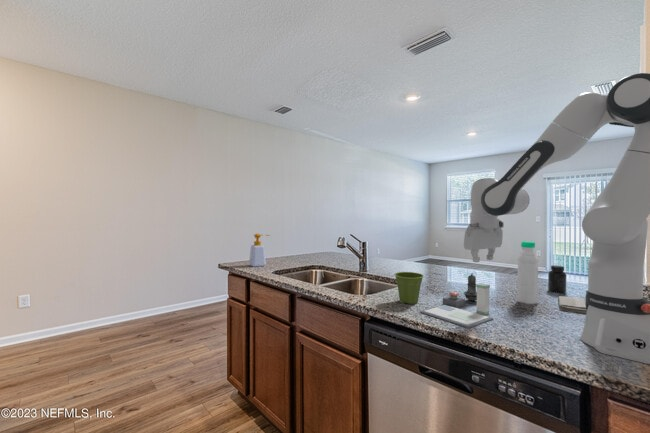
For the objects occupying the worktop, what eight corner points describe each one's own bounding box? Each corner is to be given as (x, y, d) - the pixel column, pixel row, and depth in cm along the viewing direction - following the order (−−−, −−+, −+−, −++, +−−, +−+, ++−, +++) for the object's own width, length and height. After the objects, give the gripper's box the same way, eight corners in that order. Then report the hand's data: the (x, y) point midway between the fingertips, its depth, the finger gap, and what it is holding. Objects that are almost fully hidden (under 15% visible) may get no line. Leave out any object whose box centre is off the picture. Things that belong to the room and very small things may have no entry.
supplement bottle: (544, 290, 146) (544, 265, 146) (554, 289, 148) (555, 264, 148) (559, 294, 140) (559, 267, 140) (570, 292, 142) (570, 267, 142)
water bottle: (517, 299, 131) (517, 240, 131) (537, 301, 128) (537, 241, 127) (517, 303, 125) (518, 241, 125) (538, 305, 121) (539, 242, 121)
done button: (460, 302, 122) (460, 293, 122) (455, 303, 120) (455, 294, 120) (452, 300, 125) (452, 291, 125) (447, 301, 123) (447, 292, 123)
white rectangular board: (493, 319, 106) (493, 317, 106) (469, 328, 97) (469, 325, 97) (444, 305, 121) (444, 303, 121) (419, 312, 113) (419, 310, 113)
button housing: (465, 305, 122) (465, 299, 122) (456, 308, 118) (456, 301, 118) (451, 301, 127) (451, 295, 127) (442, 304, 123) (442, 298, 123)
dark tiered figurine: (481, 304, 123) (481, 274, 123) (465, 303, 124) (466, 274, 124) (477, 300, 129) (477, 272, 128) (462, 299, 130) (462, 271, 130)
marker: (489, 313, 112) (489, 284, 112) (484, 315, 110) (485, 286, 110) (480, 311, 115) (481, 283, 114) (476, 312, 113) (476, 284, 113)
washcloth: (559, 311, 116) (559, 303, 116) (556, 300, 131) (557, 293, 131) (601, 317, 109) (601, 309, 109) (593, 305, 124) (593, 297, 124)
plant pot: (388, 301, 128) (388, 274, 127) (405, 296, 135) (405, 270, 135) (412, 308, 118) (412, 278, 118) (429, 302, 126) (429, 275, 126)
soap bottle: (272, 265, 213) (272, 233, 213) (252, 267, 206) (252, 234, 206) (267, 263, 221) (267, 232, 221) (248, 265, 215) (248, 233, 214)
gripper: (476, 223, 103) (476, 264, 104) (506, 222, 115) (505, 259, 115) (459, 223, 109) (458, 262, 109) (489, 222, 120) (488, 257, 121)
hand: (483, 260), depth 112 cm, fingers open, 8 cm apart
